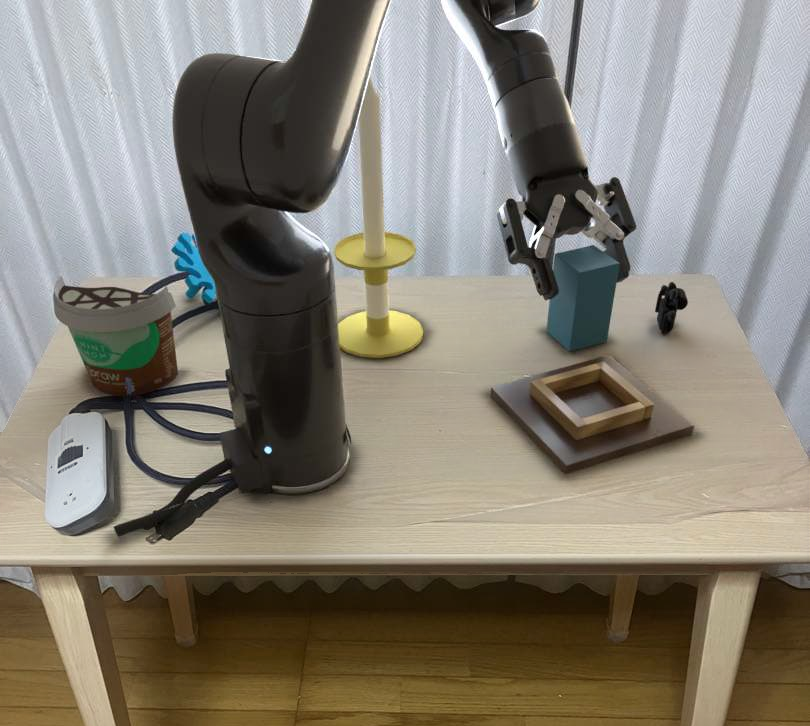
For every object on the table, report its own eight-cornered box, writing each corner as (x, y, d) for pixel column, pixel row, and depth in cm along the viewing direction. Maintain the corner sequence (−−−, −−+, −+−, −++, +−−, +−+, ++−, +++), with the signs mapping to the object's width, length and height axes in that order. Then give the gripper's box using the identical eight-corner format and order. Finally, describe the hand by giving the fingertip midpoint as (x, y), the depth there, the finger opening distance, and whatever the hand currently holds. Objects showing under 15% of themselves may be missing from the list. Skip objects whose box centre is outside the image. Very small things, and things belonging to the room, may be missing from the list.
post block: (569, 351, 92) (579, 272, 86) (546, 331, 95) (554, 253, 89) (607, 341, 94) (620, 263, 87) (582, 321, 97) (593, 244, 91)
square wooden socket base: (565, 474, 77) (568, 452, 75) (490, 395, 86) (491, 374, 85) (692, 434, 81) (698, 412, 79) (607, 362, 90) (611, 341, 89)
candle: (400, 304, 100) (395, 45, 82) (438, 344, 94) (441, 71, 75) (320, 324, 97) (295, 58, 79) (353, 366, 91) (334, 88, 72)
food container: (54, 395, 88) (22, 305, 81) (83, 363, 92) (56, 275, 85) (167, 409, 86) (144, 318, 79) (191, 375, 90) (172, 286, 83)
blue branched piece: (225, 313, 96) (161, 241, 94) (196, 343, 99) (134, 273, 97) (270, 282, 104) (213, 215, 102) (242, 310, 108) (186, 246, 106)
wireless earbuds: (652, 312, 98) (660, 270, 95) (674, 313, 98) (684, 271, 94) (661, 344, 93) (670, 301, 89) (684, 345, 93) (694, 302, 89)
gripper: (493, 131, 84) (544, 290, 84) (616, 109, 88) (664, 260, 88) (466, 168, 91) (513, 315, 91) (581, 146, 95) (625, 287, 95)
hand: (587, 288), depth 90 cm, fingers open, 8 cm apart
